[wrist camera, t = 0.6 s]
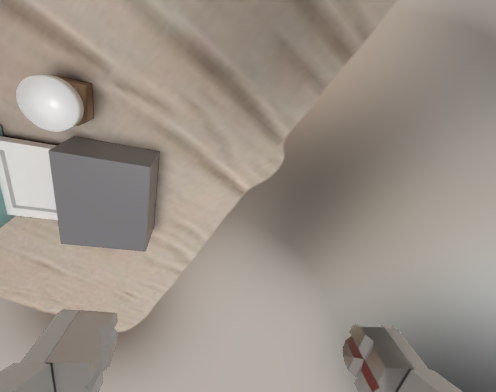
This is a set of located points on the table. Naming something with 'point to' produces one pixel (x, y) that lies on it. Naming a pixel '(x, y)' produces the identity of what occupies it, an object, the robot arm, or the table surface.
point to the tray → (25, 180)
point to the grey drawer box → (104, 193)
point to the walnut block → (83, 97)
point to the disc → (49, 102)
